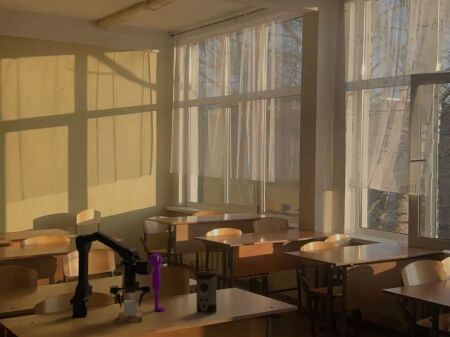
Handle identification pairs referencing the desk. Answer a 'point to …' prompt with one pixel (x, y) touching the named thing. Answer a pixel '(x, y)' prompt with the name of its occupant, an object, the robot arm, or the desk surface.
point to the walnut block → (129, 318)
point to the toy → (156, 277)
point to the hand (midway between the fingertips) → (130, 307)
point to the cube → (130, 307)
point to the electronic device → (206, 292)
